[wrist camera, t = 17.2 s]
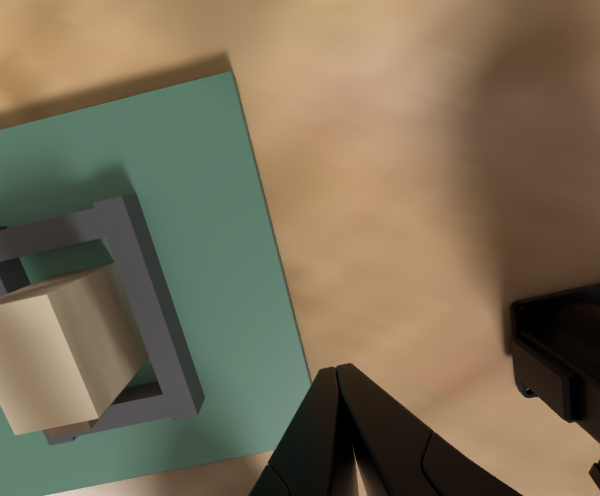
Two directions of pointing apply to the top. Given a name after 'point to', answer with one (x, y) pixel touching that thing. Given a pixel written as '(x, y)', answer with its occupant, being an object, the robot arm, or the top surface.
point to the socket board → (156, 280)
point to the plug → (67, 350)
